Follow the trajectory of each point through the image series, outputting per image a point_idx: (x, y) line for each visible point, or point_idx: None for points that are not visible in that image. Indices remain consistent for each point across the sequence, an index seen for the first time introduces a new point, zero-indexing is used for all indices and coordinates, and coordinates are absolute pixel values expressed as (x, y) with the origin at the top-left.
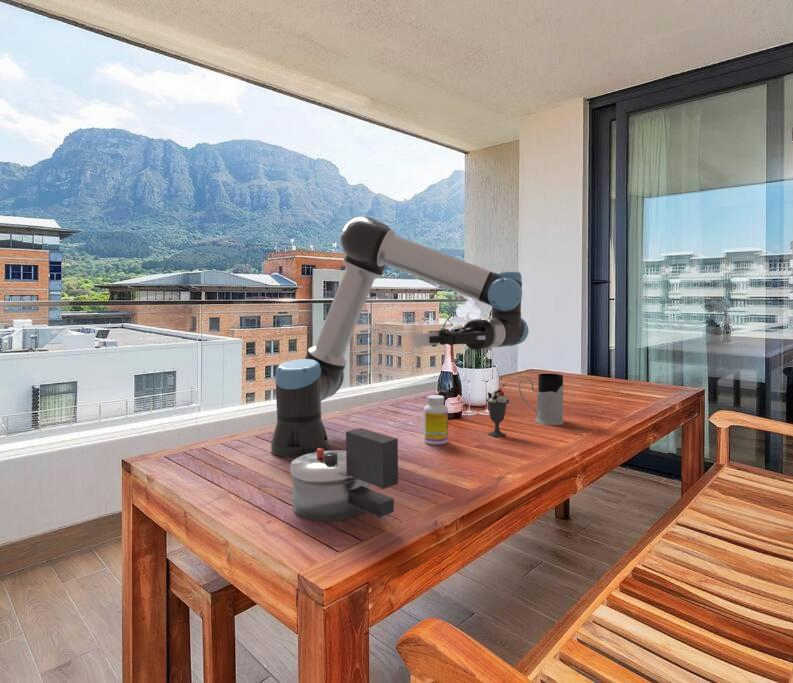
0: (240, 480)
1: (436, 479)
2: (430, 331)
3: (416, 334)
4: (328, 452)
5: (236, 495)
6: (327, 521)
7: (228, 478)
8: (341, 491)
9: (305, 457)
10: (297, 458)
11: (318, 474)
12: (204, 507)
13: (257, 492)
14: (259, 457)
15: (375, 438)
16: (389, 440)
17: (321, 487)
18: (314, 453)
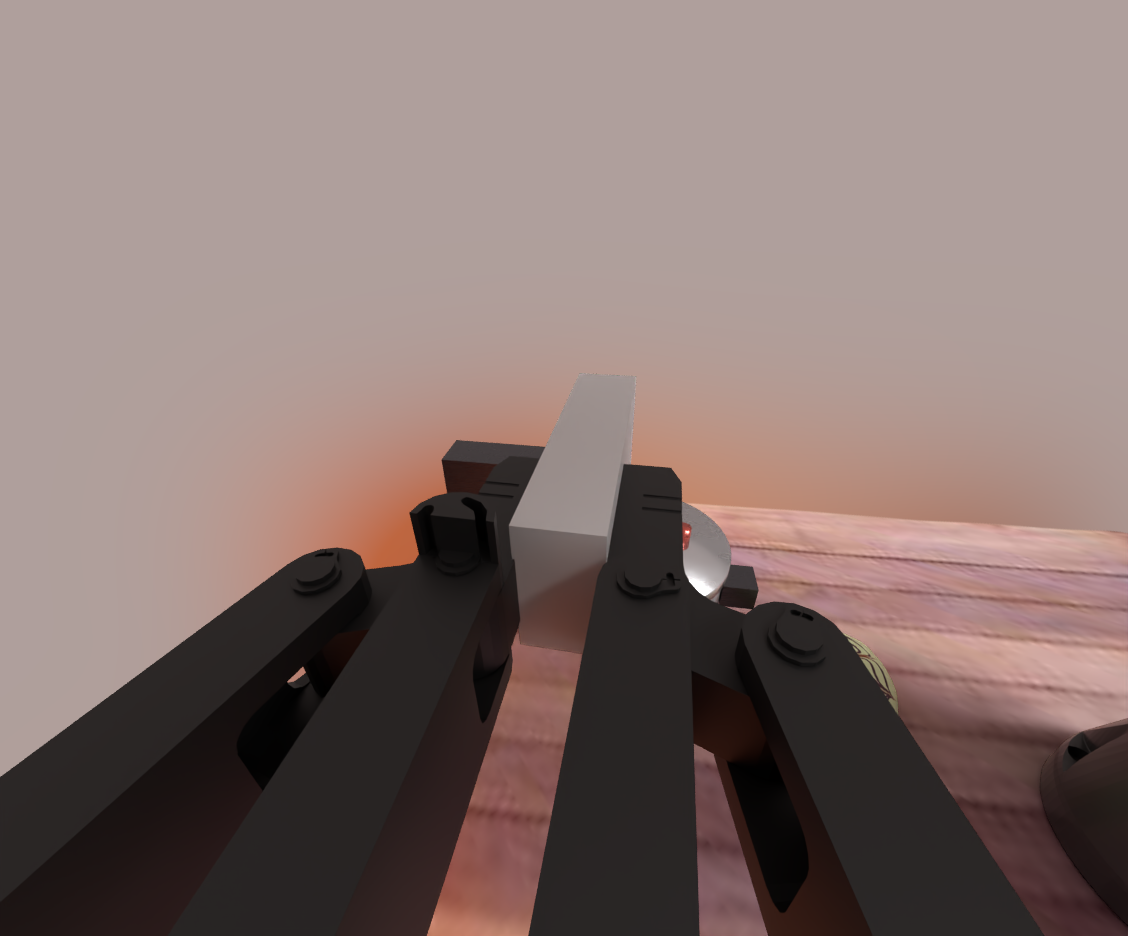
0: (880, 587)
1: (519, 917)
2: (785, 616)
3: (606, 377)
4: (707, 574)
5: (795, 551)
6: None
7: (907, 581)
8: None
9: (710, 535)
10: (716, 526)
11: None
12: (773, 512)
13: (788, 573)
14: (1086, 702)
15: (484, 447)
16: (452, 450)
17: None
18: (723, 556)
